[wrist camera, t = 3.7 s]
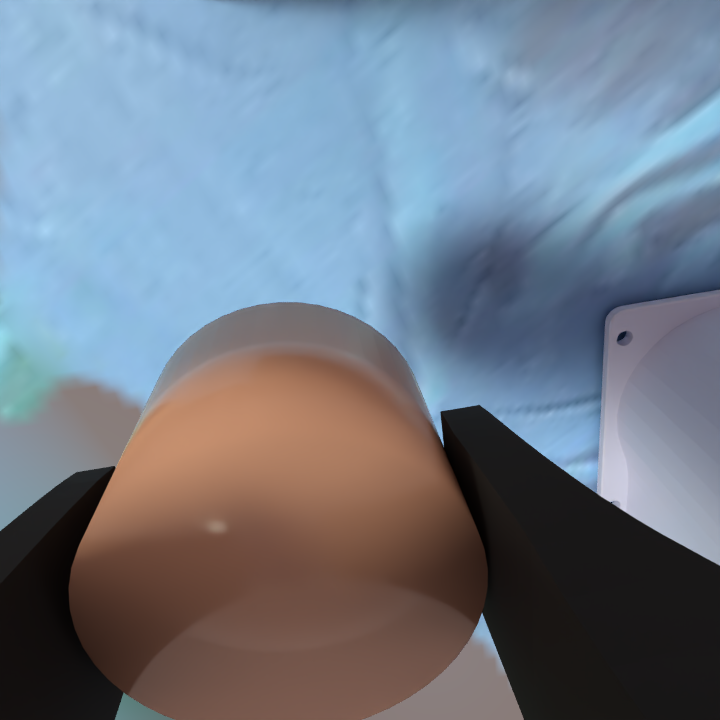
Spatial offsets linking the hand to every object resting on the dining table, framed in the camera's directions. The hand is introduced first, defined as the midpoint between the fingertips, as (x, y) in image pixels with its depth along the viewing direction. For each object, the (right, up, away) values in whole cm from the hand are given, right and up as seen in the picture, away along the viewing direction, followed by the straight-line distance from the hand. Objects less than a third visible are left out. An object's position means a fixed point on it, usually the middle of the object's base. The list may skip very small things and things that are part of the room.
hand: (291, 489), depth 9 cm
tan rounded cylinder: (0, +1, +1) cm, 2 cm away
